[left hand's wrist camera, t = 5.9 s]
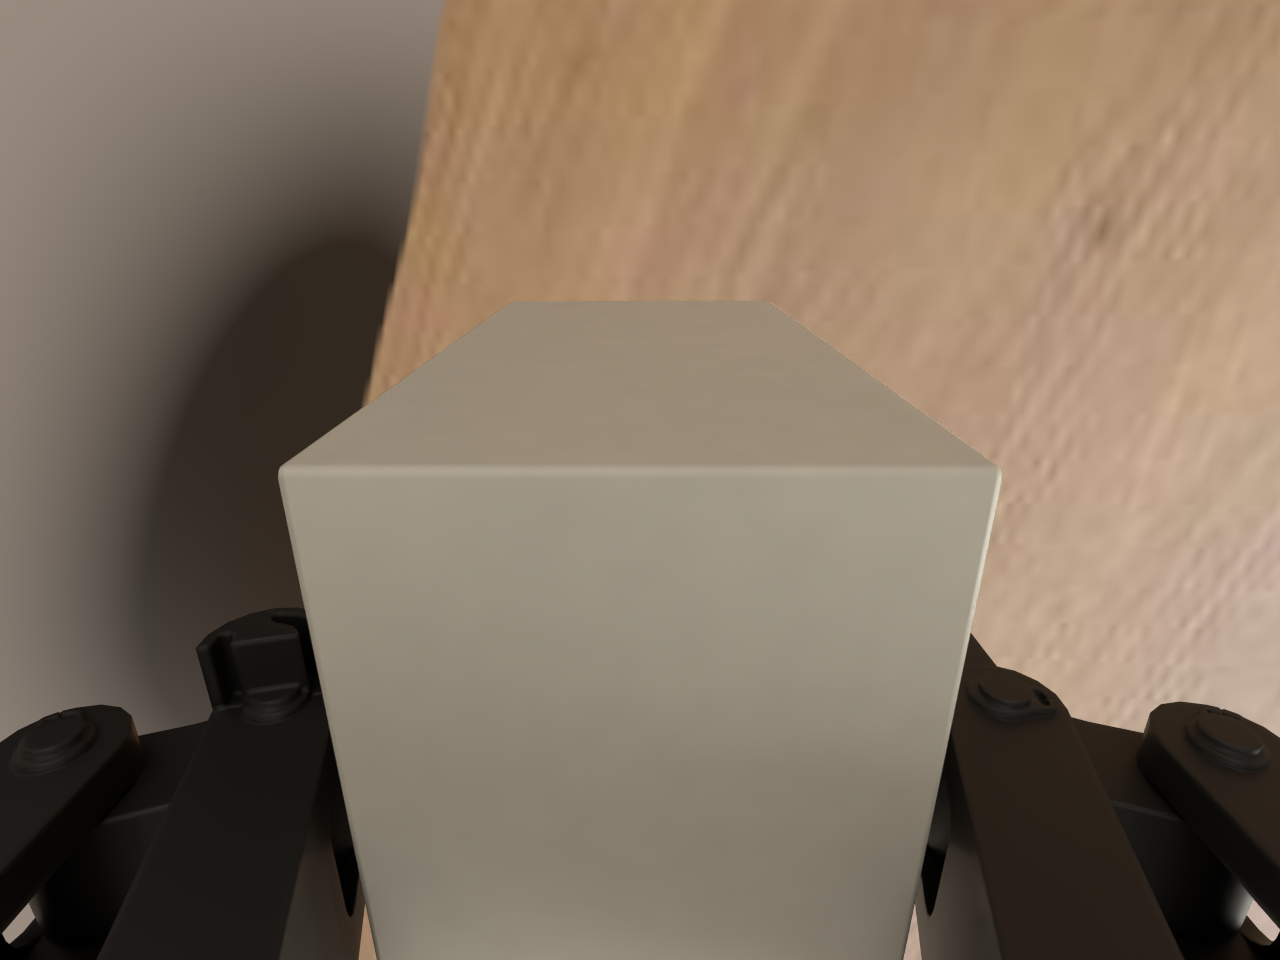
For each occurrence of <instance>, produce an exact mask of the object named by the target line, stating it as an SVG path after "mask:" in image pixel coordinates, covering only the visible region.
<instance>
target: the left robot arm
mask: <svg viewBox="0 0 1280 960" xmlns="http://www.w3.org/2000/svg"><path fill="white" fill-rule="evenodd" d="M196 651H197V655H198V658H199V662H200V665H201V669H202V672H203V676H204V680H205V683H206V687H207V690H208V694H209V698H210V701H211V705H212V708H213V711H212V713H211V715H210V717H209V720H208V721H205V722H201V723H198V724H194V725H189V726H184V727H179V728H175V729H170V730H165V731H160V732H155V733H150V734H146V735H141V736H138V734H137V731H136V728H135V725H134V722H133V719H132V716H131V715H130V714H128V713H127V712H126V711H125V710H123V709H122V708H121V707H114V706H107V705H95V706H87V707H78V708H73V709H69V710H65V711H62V712H60V713H59V712H57V713H54V714H52V715H49V716H46V717H44V718H42V719H40V720H39V721H37V722H34V723H32V724H30V725H28V726H26V727H24V728H22V729H20V730H18V731H16V732H15V733H13V734H12V735H10V736H9V737H8V738H6V739H5V740H3V741H2V742H0V960H358V958H359V950H360V941H361V933H362V924H363V916H364V907H365V899H364V894H363V889H362V884H361V879H360V874H359V869H358V865H357V860H356V855H355V850H354V845H353V840H352V835H351V831H350V826H349V821H348V816H347V811H346V806H345V801H344V796H343V792H342V787H341V782H340V777H339V772H338V767H337V762H336V757H335V753H334V748H333V743H332V738H331V733H330V728H329V723H328V719H327V714H326V709H325V704H324V699H323V694H322V689H321V684H320V680H319V675H318V670H317V665H316V660H315V655H314V650H313V645H312V641H311V636H310V631H309V626H308V621H307V616H306V611H305V609H302V608H275V609H270V610H265V611H261V612H256V613H251V614H249V615H246V616H244V617H241V618H238V619H236V620H233V621H231V622H228V623H226V624H225V625H223V626H221V627H220V628H218V629H217V630H215V631H213V632H212V633H210V634H209V635H208V636H207V637H206V638H205V639H204V640H203V641H202V642H201V643H200V644H199V645H198V646H197V647H196ZM1253 900H1255V901H1256V902H1257V903H1258V905H1259V906H1260V907H1261V908H1262V909H1263V910H1264V911H1265V913H1266V914H1267V915H1268V916H1269V917H1270V918H1271V920H1272V921H1273V922H1274V923H1275V924H1276V925H1277V926H1278V928H1279V929H1280V738H1279V737H1278V736H1276V735H1275V734H1273V733H1272V732H1270V731H1269V730H1267V729H1266V728H1265V727H1263V726H1261V725H1258V724H1256V723H1254V722H1252V721H1250V720H1248V719H1246V718H1243V717H1242V716H1241V715H1239V714H1237V713H1234V712H1231V711H1228V710H1225V709H1223V710H1222V709H1220V708H1218V707H1214V706H1209V705H1204V704H1196V703H1188V702H1174V703H1167V704H1161V705H1159V706H1158V707H1157V708H1156V709H1154V710H1153V711H1152V712H1151V713H1150V715H1149V718H1148V721H1147V724H1146V727H1145V730H1144V733H1140V732H1135V731H1131V730H1126V729H1121V728H1116V727H1111V726H1106V725H1101V724H1097V723H1092V722H1087V721H1083V720H1080V719H1076V718H1072V717H1071V716H1070V714H1069V712H1068V710H1067V708H1066V707H1065V706H1064V704H1063V703H1062V702H1061V700H1060V699H1059V698H1058V696H1057V695H1056V694H1055V693H1053V692H1052V691H1051V690H1049V689H1048V688H1046V687H1045V686H1044V685H1042V684H1041V683H1040V682H1038V681H1036V680H1034V679H1032V678H1030V677H1027V676H1025V675H1023V674H1021V673H1018V672H1016V671H1013V670H1009V669H1005V668H1001V667H997V666H996V665H995V663H994V662H993V661H992V660H991V658H990V657H989V656H988V654H987V653H986V652H985V651H984V649H983V648H982V647H981V645H980V644H979V643H978V642H977V640H976V639H975V638H974V636H973V635H972V634H971V633H970V637H969V642H968V647H967V652H966V657H965V661H964V666H963V671H962V676H961V681H960V686H959V691H958V695H957V700H956V705H955V710H954V715H953V720H952V725H951V729H950V734H949V739H948V744H947V749H946V754H945V759H944V763H943V768H942V773H941V778H940V783H939V788H938V793H937V798H936V802H935V807H934V812H933V817H932V822H931V827H930V832H929V836H928V841H927V846H926V851H925V856H924V861H923V866H922V870H921V875H920V880H919V885H918V890H917V895H916V900H915V906H916V914H917V923H918V931H919V940H920V948H921V957H922V960H1280V932H1279V934H1278V936H1277V938H1276V939H1275V940H1274V941H1271V940H1269V939H1268V938H1267V937H1266V936H1265V935H1264V934H1263V933H1262V932H1261V931H1260V930H1259V929H1258V928H1257V927H1256V926H1255V925H1254V923H1253V922H1252V921H1251V920H1250V919H1249V917H1248V916H1247V913H1248V911H1249V908H1250V906H1251V904H1252V902H1253ZM28 903H29V905H30V907H31V909H32V911H33V913H34V916H35V919H34V920H33V921H32V922H31V923H30V925H29V926H28V927H27V928H26V929H25V931H24V932H23V933H22V934H21V935H19V936H18V937H17V938H16V939H15V940H14V941H13V942H11V943H10V944H9V943H7V942H6V941H5V939H4V937H3V935H2V933H3V931H4V930H5V929H6V928H7V927H8V926H9V925H10V923H11V922H12V921H13V920H14V919H15V918H16V916H17V915H18V914H19V913H20V912H21V911H22V910H23V908H24V907H25V906H26V905H27V904H28Z"/></svg>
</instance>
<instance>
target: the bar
mask: <svg viewBox="0 0 1280 960" xmlns="http://www.w3.org/2000/svg"><path fill="white" fill-rule="evenodd" d="M278 480H279V485H280V490H281V494H282V499H283V504H284V509H285V514H286V519H287V524H288V529H289V533H290V538H291V543H292V548H293V553H294V558H295V563H296V568H297V572H298V577H299V582H300V587H301V592H302V597H303V601H304V606H305V611H306V616H307V621H308V626H309V631H310V636H311V641H312V645H313V650H314V655H315V660H316V665H317V670H318V675H319V680H320V684H321V689H322V694H323V699H324V704H325V709H326V714H327V719H328V723H329V728H330V733H331V738H332V743H333V748H334V753H335V757H336V762H337V767H338V772H339V777H340V782H341V787H342V792H343V796H344V801H345V806H346V811H347V816H348V821H349V826H350V831H351V835H352V840H353V845H354V850H355V855H356V860H357V865H358V869H359V874H360V879H361V884H362V889H363V894H364V899H365V904H366V908H367V913H368V918H369V923H370V928H371V933H372V938H373V943H374V947H375V952H376V957H377V960H903V958H904V953H905V948H906V943H907V938H908V934H909V929H910V924H911V919H912V914H913V909H914V904H915V900H916V895H917V890H918V885H919V880H920V875H921V870H922V866H923V861H924V856H925V851H926V846H927V841H928V836H929V832H930V827H931V822H932V817H933V812H934V807H935V802H936V798H937V793H938V788H939V783H940V778H941V773H942V768H943V763H944V759H945V754H946V749H947V744H948V739H949V734H950V729H951V725H952V720H953V715H954V710H955V705H956V700H957V695H958V691H959V686H960V681H961V676H962V671H963V666H964V661H965V657H966V652H967V647H968V642H969V637H970V632H971V627H972V623H973V618H974V613H975V608H976V603H977V598H978V593H979V589H980V584H981V579H982V574H983V569H984V564H985V559H986V555H987V550H988V545H989V540H990V535H991V530H992V525H993V521H994V516H995V511H996V506H997V501H998V496H999V491H1000V487H1001V482H1002V473H1001V469H1000V467H999V466H998V465H996V464H995V463H994V462H992V461H991V460H989V459H988V458H987V457H985V456H984V455H982V454H981V453H980V452H978V451H977V450H975V449H974V448H973V447H971V446H970V445H969V444H967V443H966V442H964V441H963V440H962V439H960V438H959V437H957V436H956V435H955V434H953V433H952V432H950V431H949V430H948V429H946V428H945V427H943V426H942V425H941V424H939V423H938V422H937V421H935V420H934V419H932V418H931V417H930V416H928V415H927V414H925V413H924V412H923V411H921V410H920V409H918V408H917V407H916V406H914V405H913V404H911V403H910V402H909V401H907V400H906V399H904V398H903V397H902V396H900V395H899V394H898V393H896V392H895V391H893V390H892V389H891V388H889V387H888V386H886V385H885V384H884V383H882V382H881V381H879V380H878V379H877V378H875V377H874V376H872V375H871V374H870V373H868V372H867V371H865V370H864V369H863V368H861V367H860V366H859V365H857V364H856V363H854V362H853V361H852V360H850V359H849V358H847V357H846V356H845V355H843V354H842V353H840V352H839V351H838V350H836V349H835V348H833V347H832V346H831V345H829V344H828V343H826V342H825V341H824V340H822V339H821V338H820V337H818V336H817V335H815V334H814V333H813V332H811V331H810V330H808V329H807V328H806V327H804V326H803V325H801V324H800V323H799V322H797V321H796V320H794V319H793V318H792V317H790V316H789V315H788V314H786V313H785V312H783V311H782V310H781V309H779V308H778V307H776V306H775V305H774V304H772V303H771V302H769V301H512V302H510V303H509V304H507V305H506V306H504V307H503V308H502V309H500V310H499V311H497V312H496V313H495V314H493V315H492V316H490V317H489V318H488V319H486V320H485V321H483V322H482V323H481V324H479V325H478V326H476V327H475V328H474V329H472V330H471V331H469V332H468V333H467V334H465V335H464V336H462V337H461V338H460V339H458V340H457V341H455V342H454V343H453V344H451V345H450V346H449V347H447V348H446V349H444V350H443V351H442V352H440V353H439V354H437V355H436V356H435V357H433V358H432V359H430V360H429V361H428V362H426V363H425V364H423V365H422V366H421V367H419V368H418V369H416V370H415V371H414V372H412V373H411V374H409V375H408V376H407V377H405V378H404V379H402V380H401V381H400V382H398V383H397V384H395V385H394V386H393V387H391V388H390V389H388V390H387V391H386V392H384V393H383V394H381V395H380V396H379V397H377V398H376V399H374V400H373V401H372V402H370V403H369V404H367V405H366V406H365V407H363V408H362V409H360V410H359V411H358V412H356V413H355V414H353V415H352V416H351V417H349V418H348V419H346V420H345V421H344V422H342V423H341V424H339V425H338V426H337V427H335V428H334V429H332V430H331V431H330V432H328V433H327V434H325V435H324V436H323V437H321V438H320V439H318V440H317V441H316V442H314V443H313V444H312V445H310V446H309V447H307V448H306V449H305V450H303V451H302V452H300V453H299V454H298V455H296V456H295V457H293V458H292V459H291V460H289V461H288V462H286V463H285V464H284V465H282V466H281V467H280V469H279V474H278Z"/></svg>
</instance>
